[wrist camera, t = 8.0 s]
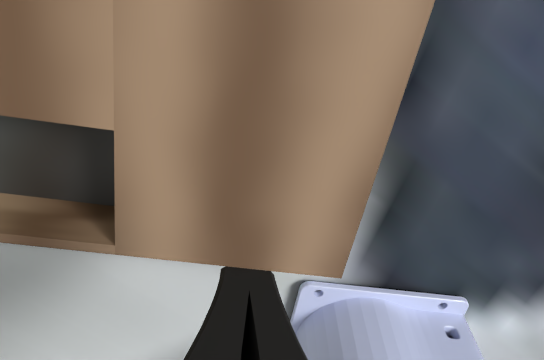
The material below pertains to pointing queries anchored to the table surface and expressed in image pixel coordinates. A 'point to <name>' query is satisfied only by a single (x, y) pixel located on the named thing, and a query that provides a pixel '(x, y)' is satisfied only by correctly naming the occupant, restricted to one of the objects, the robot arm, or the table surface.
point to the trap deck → (199, 125)
